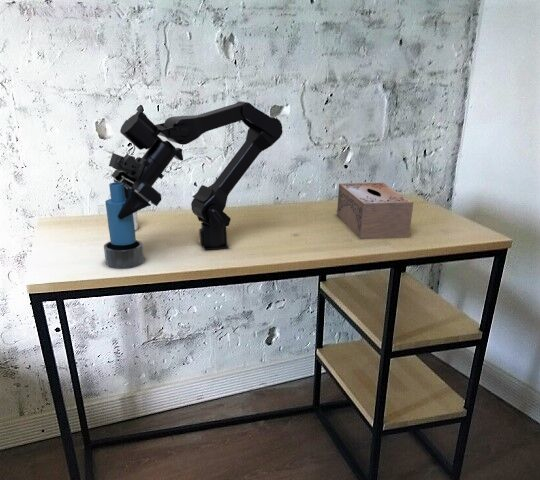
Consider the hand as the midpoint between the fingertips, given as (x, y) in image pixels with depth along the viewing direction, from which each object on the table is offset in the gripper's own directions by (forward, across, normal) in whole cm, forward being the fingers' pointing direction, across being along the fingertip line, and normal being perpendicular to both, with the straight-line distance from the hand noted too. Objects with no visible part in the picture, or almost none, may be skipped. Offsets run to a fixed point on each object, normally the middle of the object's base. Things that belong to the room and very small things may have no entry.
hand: (114, 215), depth 133 cm
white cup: (+1, -27, +17) cm, 32 cm away
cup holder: (+8, 0, +9) cm, 12 cm away
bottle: (+4, 0, +6) cm, 7 cm away
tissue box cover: (-45, +6, +63) cm, 78 cm away
